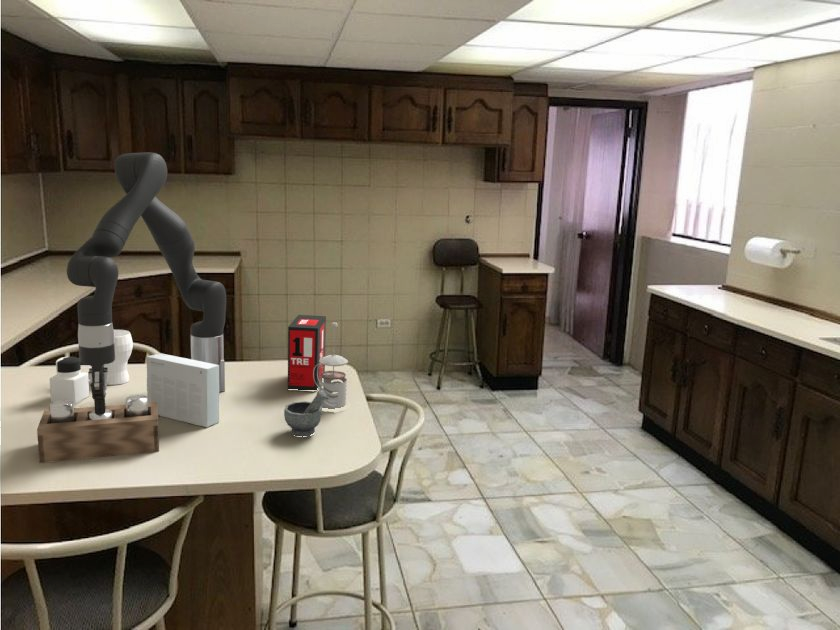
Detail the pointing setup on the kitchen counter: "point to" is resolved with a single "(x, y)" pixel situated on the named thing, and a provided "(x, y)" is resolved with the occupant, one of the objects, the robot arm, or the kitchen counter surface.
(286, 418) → the mortar and pestle
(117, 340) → the cup
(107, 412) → the spice jar
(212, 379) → the skincare box
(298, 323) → the cleaning product box
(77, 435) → the wooden spice jar rack
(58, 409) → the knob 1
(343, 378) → the french press
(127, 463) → the kitchen counter surface
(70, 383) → the medicine bottle
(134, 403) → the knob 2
